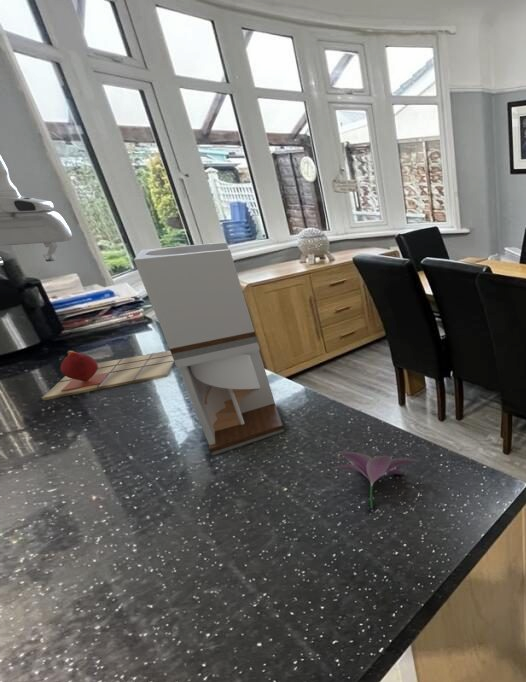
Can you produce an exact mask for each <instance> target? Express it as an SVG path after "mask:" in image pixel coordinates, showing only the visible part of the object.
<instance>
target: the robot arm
mask: <svg viewBox="0 0 526 682" xmlns="http://www.w3.org/2000/svg"><path fill="white" fill-rule="evenodd" d="M9 172H10V171H9V170H8V167H7V165H6V163H5V161H4V159H3V157H2V156H1V155H0V247H3V246H18V245H20V246H21V245H32V244H43V245H44V247H45V248H48V249H47V253H44V254H42V256H43V258H44V260H45V261H46V262H56V261H57V260H58V259H57V256H56V254H55V253H56V251H57V248H58V245H57V243H61V242H68V241H70V240H72V237H73V233H72V230H71V228H70V227H69V225H68V224H67V222H66V220H65V219H64V218H63V216H62V215H61V214H60V213H59V212H57V211H54V209H55V206H54V203H53V202H52V201H50V200H47V199H46V200H45V199H40V198H34V197H30V196H29V197H28V196H24V195H21V194H20V192H19V190H18V187H16V186H15V185H14V184H13V182H12V180H11V179H10V173H9ZM4 264H5V263H4V261H3V259H2V257H1V256H0V266H4Z"/></svg>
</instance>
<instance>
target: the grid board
mask: <svg viewBox="0 0 526 682" xmlns="http://www.w3.org/2000/svg"><path fill="white" fill-rule="evenodd" d="M97 364H98V370H97V371H96V373H95V374H94V375H93V376H92V377H91V378H90V379H89V380H88V381H80V380H76V379H72V378H69V377H67V376H65V375H64V377H62V378H61V379H60V380H59V381H57V383H56V384H55V385H53V387H52V388H50V389H49V390H48V392H46V393H45V394H44V395H43V396H42V397H41V400H42V401H47V400H53V399H58V398H61V397H67V396H73V395H78V394H83V393H89V392H93V391H99V390H104V389H109V388H114V387H119V386H125V385H128V384H134V383H139V382H145V381H149V380H155V379H159V378H164V377H165V378H166V377H167V376H168V375H169V374H170V371H171V369H172V367H174V365H175V362H174V359H173V357H172V354H171V352H170V350H165V351H159V352H158V351H157V352H152V353H148V354H142V355H136V356H131V357H124V358H123V357H122V358H120V359H113V360H107V361H101V362H97Z"/></svg>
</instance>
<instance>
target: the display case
mask: <svg viewBox="0 0 526 682" xmlns="http://www.w3.org/2000/svg"><path fill="white" fill-rule="evenodd" d="M133 261H134V264H135V267H136V269H137V271H138V274H139V277H140V279H141V281H142V284H143V287H144V289H145V292H146V294H147V296H148V299H149V302H150V304H151V306H152V309H153V312H154V314H155V316H156V319H157V322H158V324H159V326H160V329H161V332H162V334H163V337H164V339H165V341H166V344H167V347H168V349H169V351H170V352H171V354H172V357H173V359H174V365H175V367H176V369H178V371H179V374H180V376H181V378H182V381H183V383H184V387H185V388H186V391H187V394H188V396H189V398H190V401H191V403H192V406H193V409H194V411H195V414H196V417H197V418H198V421H199V423H200V426H201V429H202V431H203V434H204V437H205V438H206V441H207V444H208V447H209V448H208V449H209V452H210V454H211V456H215V455H218V454H222V453H225V452H227V451H230V450H232V449H233V450H234V449H236V448H239V447H242V446H245V445H249V444H251V443H254V442H257V441H260V440H263V439H266V438H270V437H272V436H276V435H278V434H281V433H284V432H285V428H284V425H283V422H282V420H281V416H280V414H279V411H278V408H277V404H276V401H275V399H274V395H273V391H272V389H271V388H272V387H271V386H270V385H271V384H270V383H269V382H270V381H269V379H268V375H267V371H266V369H265V366H264V362H263V359H262V356H261V352H260V350H261V348H260V345H259V342H258V338H257V335H256V331H255V328H254V325H253V322H252V318H251V315H250V311H249V308H248V306H247V302H246V298H245V295H244V292H243V288H242V285H241V281H240V278H239V275H238V272H237V269H236V265H235V261H234V259H233V255H232V251H231V249H230V248H229V246H228V242H227V241H223V242H222V241H221V242H211V243H201V244H190V245H189V244H188V245H177V246H167V247H156V248H145V249H141V250H140V251H139V252H138V253H137V255H136V256H135V257H134V259H133Z"/></svg>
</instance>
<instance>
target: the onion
mask: <svg viewBox="0 0 526 682" xmlns="http://www.w3.org/2000/svg"><path fill="white" fill-rule="evenodd" d="M66 353H67V356H65V357H64V359H63V360H62V362H61V364H60V372H61V373H62V374H63V375H64V377H65V376H67V377H69V378H72V379H76V380H80V381H88V380H89V379H90V378H91V377H92V376H93V375H94V374H95V373H96V371H97V370H98V364H97V363H98V362H97V361H96V360H95V359H94V358H93V357H91V356H90V355H88V354H85V353H81V352H77V351H74V350H68V351H67V352H66Z"/></svg>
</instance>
